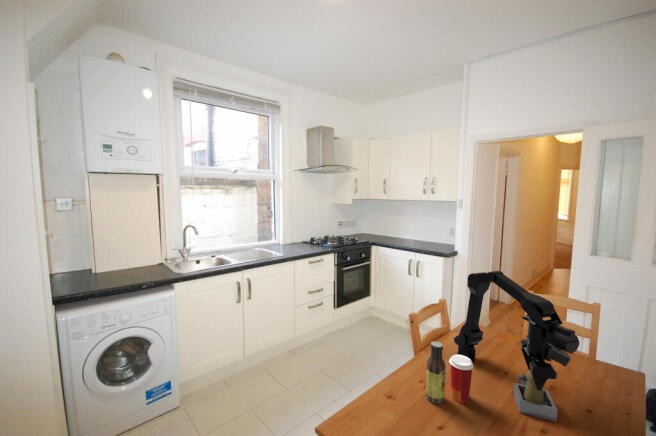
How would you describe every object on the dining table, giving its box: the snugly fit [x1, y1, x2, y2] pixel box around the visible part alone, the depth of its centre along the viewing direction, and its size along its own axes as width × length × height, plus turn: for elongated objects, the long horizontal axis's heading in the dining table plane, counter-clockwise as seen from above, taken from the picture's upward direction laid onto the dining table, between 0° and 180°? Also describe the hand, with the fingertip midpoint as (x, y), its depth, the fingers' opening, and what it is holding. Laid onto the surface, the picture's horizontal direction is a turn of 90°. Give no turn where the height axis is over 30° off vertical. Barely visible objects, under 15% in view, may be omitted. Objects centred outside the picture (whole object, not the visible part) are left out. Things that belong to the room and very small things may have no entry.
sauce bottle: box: [425, 341, 447, 404], centre depth 100 cm, size 6×6×20 cm
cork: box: [523, 370, 544, 405], centre depth 97 cm, size 6×6×11 cm
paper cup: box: [448, 354, 475, 404], centre depth 101 cm, size 8×8×14 cm
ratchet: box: [512, 373, 559, 423], centre depth 101 cm, size 10×19×5 cm, turn 157°
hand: (535, 381), depth 96 cm, fingers open, 9 cm apart
